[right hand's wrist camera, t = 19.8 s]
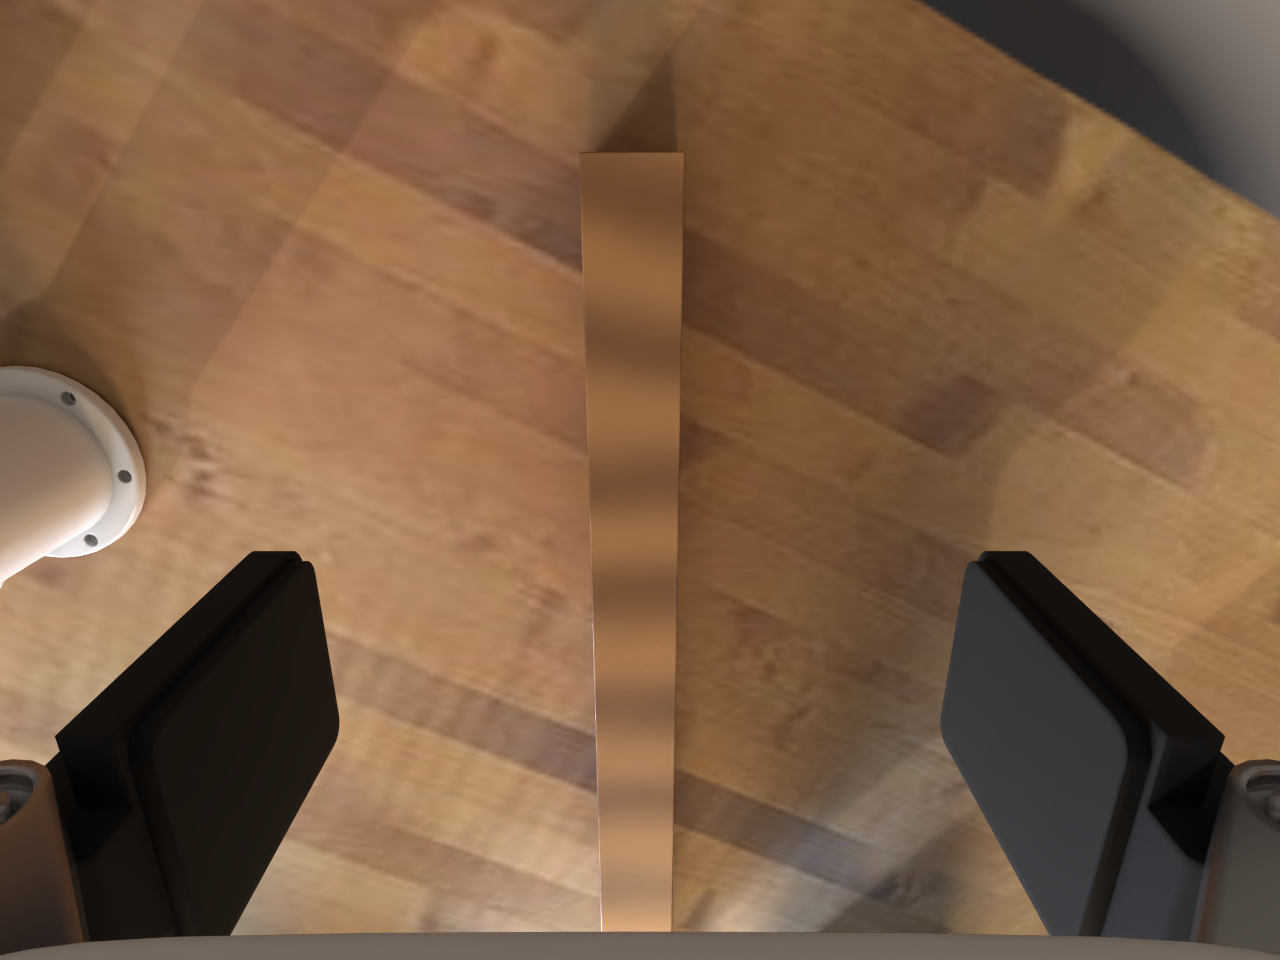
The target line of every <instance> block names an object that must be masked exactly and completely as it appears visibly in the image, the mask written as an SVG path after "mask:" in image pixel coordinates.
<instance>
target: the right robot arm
mask: <svg viewBox="0 0 1280 960" xmlns="http://www.w3.org/2000/svg"><path fill="white" fill-rule="evenodd" d="M145 495H146V472H145V467H144V461H143V458H142V455H141V452H140V450H139V447H138V445H137V442H136V440H135V439H134V437H133V435H132V433H131V432H130V430H129V428H128V427H127V425H126V424H125V422H124V421H123V420H122V419H121V418H120V417H119V415H118V414H117V413H116V412H115V411H114V409H113V408H112V407H111V406H109V405H108V404H107V403H106V402H105V401H104V400H103V399H102V398H100V397H99V396H98V395H97V394H96V393H94V392H93V391H91V390H90V389H88V388H87V387H85V386H83V385H82V384H80V383H79V382H77V381H75V380H72V379H70V378H68V377H66V376H64V375H61V374H59V373H56V372H53V371H49V370H45V369H42V368H38V367H28V366H7V367H0V588H1V586H2V585H3V583H4V581H5V580H6V579H7V578H9V577H11V576H12V575H14V574H16V573H17V572H19V571H20V570H22V569H24V568H25V567H27V566H28V565H30V564H32V563H33V562H35V561H36V560H38V559H40V558H41V557H43V556H53V557H73V556H81V555H85V554H89V553H92V552H96V551H98V550H100V549H102V548H104V547H106V546H108V545H109V544H111V543H112V542H114V541H115V540H117V539H118V538H119V537H121V536H122V535H124V534H125V533H126V532H127V531H128V529H129V528H130V527H131V526H132V525H133V524H134V523H135V521H136V519H137V517H138V516H139V514H140V512H141V510H142V507H143V503H144V499H145ZM338 731H339V713H338V707H337V701H336V695H335V689H334V683H333V677H332V671H331V665H330V659H329V653H328V647H327V641H326V635H325V629H324V623H323V617H322V611H321V605H320V599H319V593H318V588H317V582H316V576H315V571H314V567H313V565H312V563H310V562H309V561H302V559H301V557H300V555H299V554H298V553H297V552H295V551H253V552H251V553H250V554H248V555H247V556H246V557H245V558H244V559H243V560H242V561H241V562H240V563H239V564H238V565H237V566H236V567H234V568H233V569H232V570H231V571H230V572H229V573H228V574H227V575H226V576H225V577H224V578H223V579H222V580H221V581H220V582H219V583H217V584H216V585H215V586H214V587H213V588H212V589H211V590H210V591H209V592H208V593H207V594H206V595H205V596H204V597H203V598H201V599H200V600H199V601H198V602H197V603H196V604H195V605H194V606H193V607H192V608H191V609H190V610H189V611H188V612H187V613H186V614H184V615H183V616H182V617H181V618H180V619H179V620H178V621H177V622H176V623H175V624H174V625H173V626H172V627H171V628H170V629H168V630H167V631H166V632H165V633H164V634H163V635H162V636H161V637H160V638H159V639H158V640H157V641H156V642H155V643H154V644H153V645H151V646H150V647H149V648H148V649H147V650H146V651H145V652H144V653H143V654H142V655H141V656H140V657H139V658H138V659H137V660H136V661H134V662H133V663H132V664H131V665H130V666H129V667H128V668H127V669H126V670H125V671H124V672H123V673H122V674H121V675H120V676H118V677H117V678H116V679H115V680H114V681H113V682H112V683H111V684H110V685H109V686H108V687H107V688H106V689H105V690H104V691H103V692H101V693H100V694H99V695H98V696H97V697H96V698H95V699H94V700H93V701H92V702H91V703H90V704H89V705H88V706H87V707H85V708H84V709H83V710H82V711H81V712H80V713H79V714H78V715H77V716H76V717H75V718H74V719H73V720H72V721H71V722H70V723H68V724H67V725H66V726H65V727H64V728H63V729H62V730H61V731H60V732H59V733H58V734H57V735H56V736H55V738H56V741H57V744H58V747H59V750H60V752H59V753H58V754H57V755H55V756H54V757H53V758H52V759H51V760H50V761H49V762H48V763H47V764H46V765H45V766H44V765H42V764H39V763H37V762H34V761H32V760H16V759H11V760H4V761H0V960H1280V761H1276V760H1269V759H1264V760H1248V761H1246V762H1243V763H1241V764H1238V765H1236V766H1235V765H1234V764H1233V763H1232V762H1231V761H1230V760H1229V759H1228V758H1227V757H1226V756H1225V755H1223V754H1222V753H1221V752H1220V750H1221V747H1222V744H1223V741H1224V738H1225V736H1224V735H1223V734H1222V733H1221V732H1220V731H1219V730H1218V729H1217V728H1216V727H1215V726H1214V725H1213V724H1212V723H1210V722H1209V721H1208V720H1207V719H1206V718H1205V717H1204V716H1203V715H1202V714H1201V713H1200V712H1199V711H1198V710H1197V709H1196V708H1195V707H1193V706H1192V705H1191V704H1190V703H1189V702H1188V701H1187V700H1186V699H1185V698H1184V697H1183V696H1182V695H1181V694H1180V693H1179V692H1177V691H1176V690H1175V689H1174V688H1173V687H1172V686H1171V685H1170V684H1169V683H1168V682H1167V681H1166V680H1165V679H1164V678H1163V677H1162V676H1160V675H1159V674H1158V673H1157V672H1156V671H1155V670H1154V669H1153V668H1152V667H1151V666H1150V665H1149V664H1148V663H1147V662H1146V661H1144V660H1143V659H1142V658H1141V657H1140V656H1139V655H1138V654H1137V653H1136V652H1135V651H1134V650H1133V649H1132V648H1131V647H1130V646H1129V645H1127V644H1126V643H1125V642H1124V641H1123V640H1122V639H1121V638H1120V637H1119V636H1118V635H1117V634H1116V633H1115V632H1114V631H1113V630H1112V629H1110V628H1109V627H1108V626H1107V625H1106V624H1105V623H1104V622H1103V621H1102V620H1101V619H1100V618H1099V617H1098V616H1097V615H1096V614H1094V613H1093V612H1092V611H1091V610H1090V609H1089V608H1088V607H1087V606H1086V605H1085V604H1084V603H1083V602H1082V601H1081V600H1080V599H1079V598H1077V597H1076V596H1075V595H1074V594H1073V593H1072V592H1071V591H1070V590H1069V589H1068V588H1067V587H1066V586H1065V585H1064V584H1063V583H1061V582H1060V581H1059V580H1058V579H1057V578H1056V577H1055V576H1054V575H1053V574H1052V573H1051V572H1050V571H1049V570H1048V569H1047V568H1046V567H1044V566H1043V565H1042V564H1041V563H1040V562H1039V561H1038V560H1037V559H1036V558H1035V557H1034V556H1033V555H1032V554H1030V553H1029V552H1027V551H985V552H983V553H982V554H981V555H980V557H979V559H978V561H971V562H970V563H968V565H967V567H966V571H965V576H964V582H963V587H962V593H961V599H960V605H959V611H958V617H957V623H956V629H955V635H954V641H953V647H952V653H951V659H950V665H949V671H948V677H947V683H946V689H945V695H944V701H943V707H942V713H941V731H942V736H943V740H944V742H945V745H946V747H947V748H948V750H949V752H950V754H951V756H952V758H953V759H954V761H955V763H956V765H957V767H958V769H959V770H960V772H961V774H962V776H963V778H964V779H965V781H966V783H967V785H968V787H969V789H970V790H971V792H972V794H973V796H974V798H975V800H976V801H977V803H978V805H979V807H980V809H981V811H982V812H983V814H984V816H985V818H986V820H987V822H988V823H989V825H990V827H991V829H992V831H993V832H994V834H995V836H996V838H997V840H998V842H999V843H1000V845H1001V847H1002V849H1003V851H1004V853H1005V854H1006V856H1007V858H1008V860H1009V862H1010V864H1011V865H1012V867H1013V869H1014V871H1015V873H1016V875H1017V876H1018V878H1019V880H1020V882H1021V884H1022V885H1023V887H1024V889H1025V891H1026V893H1027V895H1028V896H1029V898H1030V900H1031V902H1032V904H1033V906H1034V907H1035V909H1036V911H1037V913H1038V915H1039V917H1040V918H1041V920H1042V922H1043V924H1044V926H1045V928H1046V929H1047V931H1048V933H1049V935H1050V936H1036V935H986V934H936V933H826V932H454V933H343V934H294V935H244V936H230V935H231V933H232V931H233V929H234V928H235V926H236V924H237V922H238V920H239V918H240V917H241V915H242V913H243V911H244V909H245V907H246V906H247V904H248V902H249V900H250V898H251V896H252V895H253V893H254V891H255V889H256V887H257V885H258V884H259V882H260V880H261V878H262V876H263V875H264V873H265V871H266V869H267V867H268V865H269V864H270V862H271V860H272V858H273V856H274V854H275V853H276V851H277V849H278V847H279V845H280V843H281V842H282V840H283V838H284V836H285V834H286V832H287V831H288V829H289V827H290V825H291V823H292V822H293V820H294V818H295V816H296V814H297V812H298V811H299V809H300V807H301V805H302V803H303V801H304V800H305V798H306V796H307V794H308V792H309V790H310V789H311V787H312V785H313V783H314V781H315V779H316V778H317V776H318V774H319V772H320V770H321V769H322V767H323V765H324V763H325V761H326V759H327V758H328V756H329V754H330V752H331V750H332V748H333V747H334V745H335V742H336V740H337V736H338Z"/></svg>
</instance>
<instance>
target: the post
mask: <svg viewBox="0 0 1280 960" xmlns="http://www.w3.org/2000/svg"><path fill="white" fill-rule="evenodd" d="M684 154H685V153H684V152H580V153H579V158H580V194H581V229H582V264H583V300H584V335H585V370H586V405H587V441H588V476H589V511H590V546H591V582H592V617H593V652H594V688H595V723H596V758H597V793H598V829H599V864H600V899H601V932H672V885H673V824H674V763H675V702H676V642H677V581H678V520H679V459H680V398H681V337H682V276H683V215H684Z"/></svg>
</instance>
